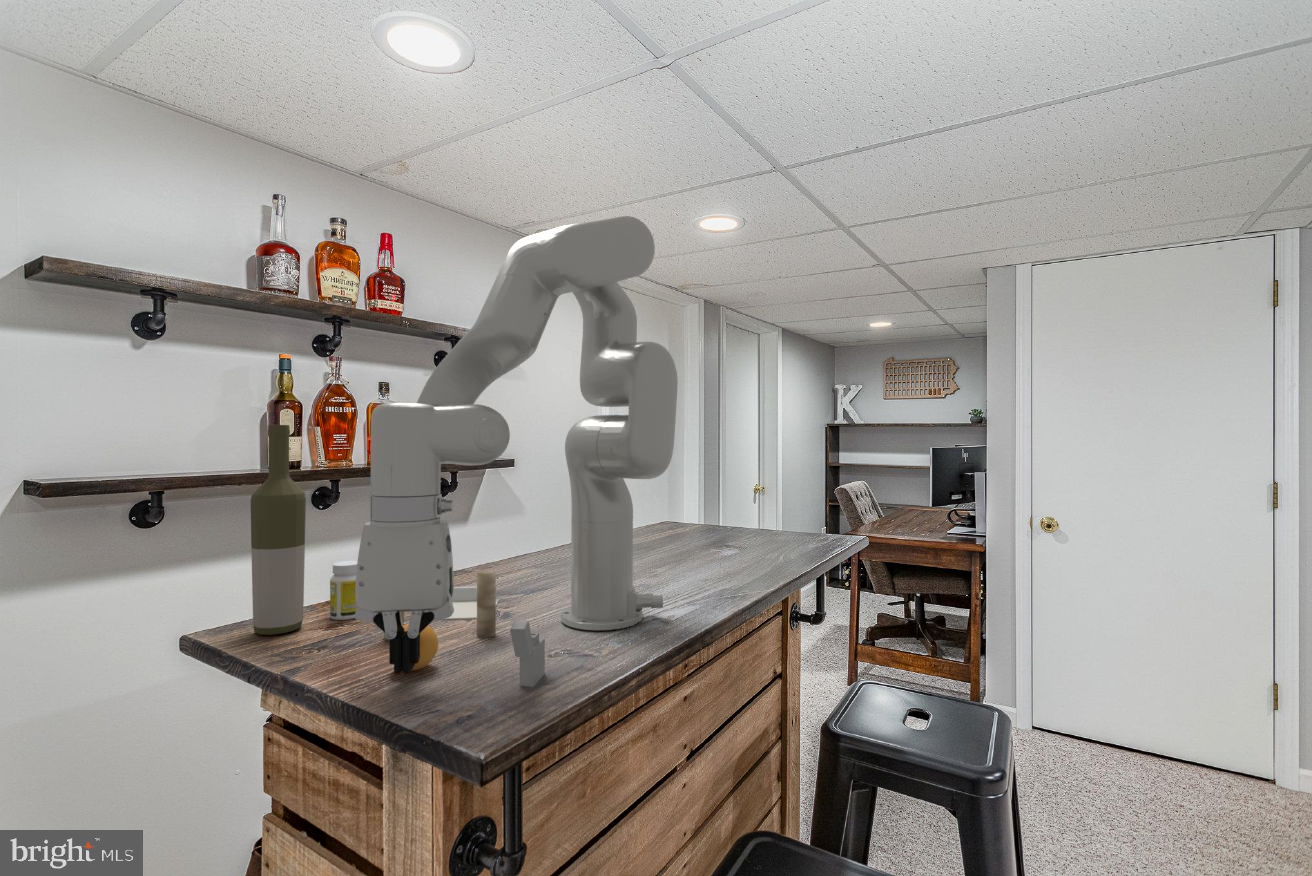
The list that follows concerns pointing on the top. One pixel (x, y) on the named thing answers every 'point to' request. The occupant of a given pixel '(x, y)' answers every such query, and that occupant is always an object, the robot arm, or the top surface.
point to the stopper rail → (464, 594)
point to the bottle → (278, 543)
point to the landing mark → (465, 610)
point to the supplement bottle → (343, 590)
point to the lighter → (528, 653)
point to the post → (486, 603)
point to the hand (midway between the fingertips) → (404, 669)
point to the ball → (425, 646)
